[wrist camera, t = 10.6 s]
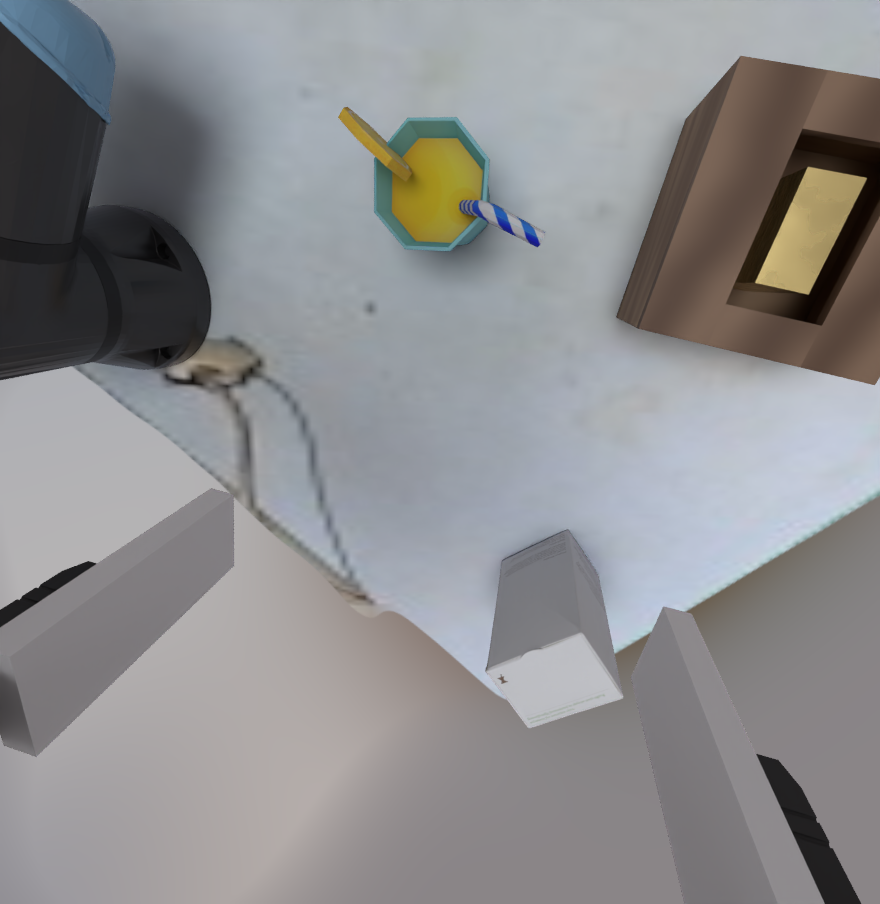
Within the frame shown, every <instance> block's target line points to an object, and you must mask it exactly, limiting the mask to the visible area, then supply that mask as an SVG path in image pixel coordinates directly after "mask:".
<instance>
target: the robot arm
mask: <svg viewBox="0 0 880 904" xmlns="http://www.w3.org/2000/svg"><path fill="white" fill-rule="evenodd" d="M114 73H115V56H114V52H113V49H112V46H111V44H110V42H109V40H108V38H107V37H106V35H105V34H104V32H103V31H102V29H101V28H100V27H99V26H98V25H97V23H96V22H95V21H94V20H92V19H91V18H90V17H89V16H88V15H87V14H85V13H84V12H83V11H81V10H80V9H79V8H77V7H76V6H75V5H73V4H72V3H71V2H69V1H68V0H0V380H4V379H9V378H14V377H19V376H24V375H29V374H34V373H39V372H44V371H49V370H54V369H59V368H64V367H69V366H75V365H79V364H85V363H90V362H96V363H102V364H108V365H115V366H121V367H128V368H134V369H142V370H150V369H158V368H163V367H167V366H172V365H176V364H178V363H181V362H183V361H185V360H186V359H188V358H189V357H190V356H192V355H193V354H194V353H195V352H196V350H197V349H198V348H199V346H200V345H201V343H202V341H203V339H204V337H205V335H206V332H207V329H208V324H209V318H210V297H209V290H208V286H207V282H206V278H205V275H204V272H203V270H202V267H201V265H200V263H199V261H198V259H197V257H196V255H195V254H194V252H193V250H192V249H191V247H190V246H189V244H188V243H187V242H186V241H185V239H184V238H183V237H182V236H181V235H180V234H179V233H178V232H177V231H176V230H175V229H174V228H173V227H172V226H171V225H170V224H168V223H167V222H166V221H164V220H163V219H161V218H159V217H158V216H156V215H154V214H152V213H149V212H147V211H144V210H140V209H135V208H129V207H123V206H117V205H102V206H96V207H92V208H88V205H89V200H90V196H91V191H92V187H93V183H94V178H95V174H96V169H97V165H98V160H99V156H100V152H101V147H102V143H103V138H104V134H105V129H106V125H107V124H108V125H110V122H111V116H110V114H109V112H108V111H109V105H110V98H111V92H112V86H113V79H114ZM233 502H234V500H233V494H231V493H227V492H223V491H219V490H215V489H210V490H208V491H206V492H205V493H203V494H202V495H200V496H199V497H197V498H196V499H194V500H193V501H191V502H190V503H188V504H187V505H185V506H184V507H182V508H181V509H179V510H178V511H177V512H175V513H173V514H172V515H170V516H169V517H167V518H166V519H164V520H163V521H161V522H159V523H158V524H156V525H155V526H154V527H152V528H150V529H149V530H147V531H146V532H144V533H143V534H141V535H140V536H139V537H137V538H135V539H134V540H132V541H131V542H129V543H128V544H126V545H125V546H123V547H122V548H120V549H119V550H117V551H116V552H114V553H112V554H111V555H109V556H108V557H107V558H105V559H103V560H102V561H101V562H99V563H97V564H96V563H93V562H89V561H88V562H85V563H82V564H80V565H77V566H74V567H72V568H69V569H67V570H64V571H62V572H60V573H58V574H57V575H55V576H54V577H52V578H50V579H49V580H47V581H46V582H44V583H42V584H41V585H40V587H39V588H34V589H33V590H31V591H30V592H28V593H26V594H25V595H23V596H22V598H21V599H20V600H15V601H14V602H12V603H10V604H9V605H7V606H6V607H4V608H3V609H1V610H0V735H1V738H2V741H3V744H4V746H7V747H10V748H13V749H15V750H18V751H21V752H24V753H27V754H30V755H32V756H35V757H37V756H38V755H39V754H40V753H41V752H42V751H43V750H44V749H45V748H46V747H47V746H48V745H49V744H50V743H51V742H52V741H53V740H54V739H55V738H56V737H57V736H58V735H59V734H60V733H61V732H62V731H63V730H64V729H66V728H67V726H69V725H70V724H71V723H72V722H73V721H74V720H75V719H76V718H77V717H78V716H79V715H80V714H81V713H82V712H83V711H84V710H85V709H86V708H87V707H88V706H89V705H90V704H91V703H92V702H93V701H94V700H96V699H97V698H98V697H99V696H100V694H102V693H103V692H104V691H105V690H106V689H107V688H108V687H109V686H110V685H111V684H112V683H113V682H114V681H115V680H116V679H117V678H118V677H119V676H120V675H121V674H122V673H124V671H125V670H127V668H129V667H130V666H131V665H132V664H133V663H134V662H135V661H136V660H137V659H138V658H139V657H140V656H141V655H142V654H143V653H144V652H145V651H146V650H147V649H148V648H149V647H150V646H151V645H152V644H153V643H155V642H156V640H158V639H159V638H160V637H161V636H162V635H163V634H164V633H165V632H166V631H167V630H168V629H169V628H170V627H171V626H172V625H173V624H174V623H175V622H176V621H177V620H178V619H179V618H180V617H182V616H183V615H184V614H185V613H186V611H188V610H189V609H190V608H191V607H192V606H193V605H194V604H195V603H196V602H197V601H198V600H199V599H200V598H201V597H202V596H203V595H204V594H205V593H206V592H207V591H208V590H209V589H210V588H211V587H213V586H214V585H215V584H216V583H217V582H218V581H219V580H220V579H221V578H222V577H223V576H224V575H225V574H226V573H227V572H228V571H229V570H230V569H231V568H232V567H233V566H234V510H233V509H234V503H233ZM631 680H632V684H633V688H634V692H635V697H636V701H637V705H638V709H639V714H640V718H641V722H642V726H643V731H644V735H645V739H646V743H647V748H648V752H649V756H650V760H651V765H652V769H653V773H654V777H655V781H656V786H657V790H658V794H659V798H660V803H661V807H662V811H663V815H664V820H665V824H666V828H667V832H668V837H669V841H670V845H671V849H672V853H673V858H674V862H675V866H676V870H677V874H678V879H679V883H680V887H681V892H682V896H683V900H684V904H861V902H860V900H859V899H858V897H857V895H856V893H855V891H854V889H853V887H852V885H851V883H850V881H849V879H848V878H847V875H846V873H845V872H844V870H843V868H842V866H841V864H840V862H839V860H838V858H837V856H836V854H835V852H834V850H833V849H832V848H830V847H829V841H828V839H827V837H826V835H825V833H824V831H823V829H822V827H821V825H820V823H817V821H816V818H817V817H816V815H815V813H814V812H813V810H812V808H811V806H810V804H809V802H808V800H807V798H806V796H805V794H804V792H803V790H802V788H801V787H800V786H799V785H798V783H797V782H796V781H795V780H794V779H793V778H792V776H791V775H790V774H789V773H788V771H787V770H786V769H785V768H784V766H783V765H782V764H781V763H780V762H779V760H776V759H772V758H769V757H765V756H762V755H758V754H756V753H755V751H754V749H753V746H752V744H751V742H750V740H749V738H748V735H747V733H746V731H745V729H744V727H743V725H742V722H741V720H740V718H739V716H738V714H737V712H736V709H735V707H734V705H733V703H732V701H731V698H730V696H729V694H728V692H727V690H726V688H725V686H724V683H723V681H722V679H721V677H720V675H719V672H718V670H717V668H716V666H715V664H714V662H713V659H712V657H711V655H710V653H709V651H708V648H707V646H706V644H705V642H704V640H703V638H702V635H701V633H700V631H699V629H698V627H697V625H696V622H695V620H694V618H693V616H692V614H690V613H686V612H683V611H679V610H675V609H671V608H667V607H663V609H662V611H661V613H660V615H659V617H658V619H657V622H656V624H655V626H654V628H653V630H652V632H651V635H650V637H649V639H648V641H647V643H646V645H645V648H644V650H643V652H642V654H641V656H640V658H639V661H638V663H637V665H636V667H635V669H634V672H633V674H632V676H631Z"/></svg>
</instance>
